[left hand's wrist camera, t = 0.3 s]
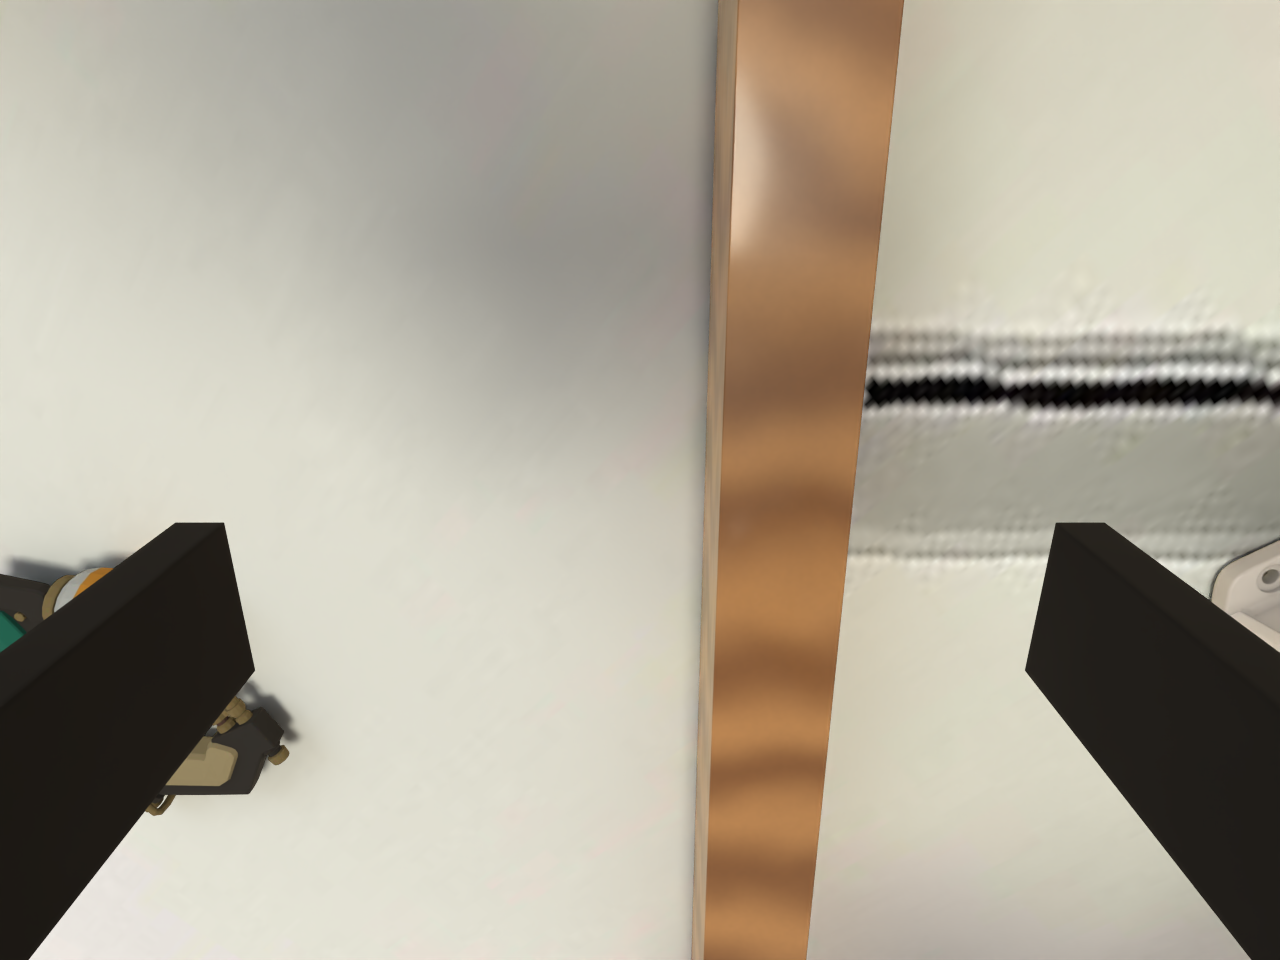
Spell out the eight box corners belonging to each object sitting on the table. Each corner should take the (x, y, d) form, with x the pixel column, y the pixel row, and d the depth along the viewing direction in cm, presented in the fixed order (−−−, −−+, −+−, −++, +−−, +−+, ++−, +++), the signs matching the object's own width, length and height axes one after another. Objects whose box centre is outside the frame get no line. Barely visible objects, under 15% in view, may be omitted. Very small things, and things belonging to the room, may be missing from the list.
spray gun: (318, 759, 48) (94, 790, 49) (201, 520, 41) (-55, 566, 42) (288, 815, 44) (46, 848, 45) (153, 563, 37) (-126, 611, 38)
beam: (728, -362, 29) (757, -536, 22) (881, -363, 29) (959, -538, 22) (688, 1063, 57) (695, 1187, 50) (765, 1063, 57) (783, 1187, 50)
